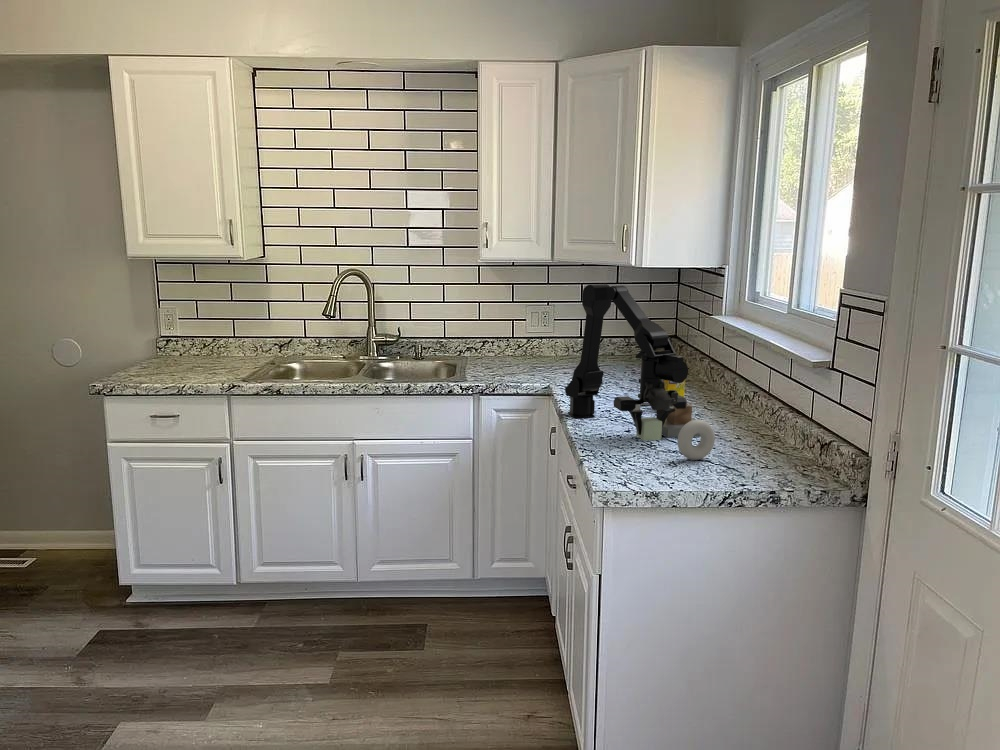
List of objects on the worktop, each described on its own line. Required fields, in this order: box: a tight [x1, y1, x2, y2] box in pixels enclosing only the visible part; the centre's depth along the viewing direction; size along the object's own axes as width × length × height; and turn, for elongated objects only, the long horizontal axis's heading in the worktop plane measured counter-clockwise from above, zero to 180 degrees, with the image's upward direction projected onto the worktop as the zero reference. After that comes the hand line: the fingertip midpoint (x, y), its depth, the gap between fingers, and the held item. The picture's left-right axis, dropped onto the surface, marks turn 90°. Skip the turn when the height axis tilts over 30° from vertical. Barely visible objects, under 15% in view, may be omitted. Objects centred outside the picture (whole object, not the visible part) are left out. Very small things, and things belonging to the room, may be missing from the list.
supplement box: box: [662, 379, 686, 398], centre depth 234 cm, size 6×6×11 cm
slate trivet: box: [662, 417, 701, 439], centre depth 212 cm, size 12×12×2 cm
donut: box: [677, 419, 716, 461], centre depth 184 cm, size 10×3×10 cm, turn 110°
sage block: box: [635, 416, 662, 442], centre depth 204 cm, size 5×5×5 cm
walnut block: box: [667, 403, 693, 425], centre depth 211 cm, size 5×5×5 cm
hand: (648, 433), depth 205 cm, fingers closed on sage block, 5 cm apart
